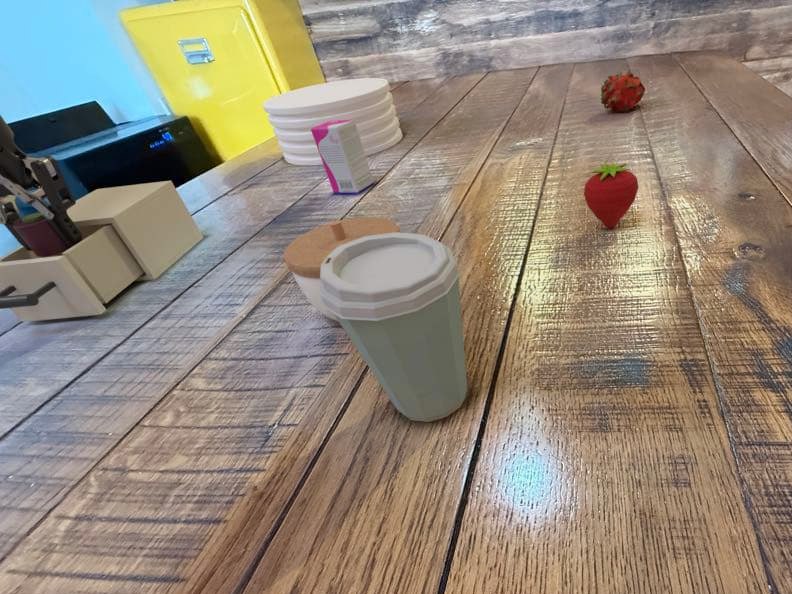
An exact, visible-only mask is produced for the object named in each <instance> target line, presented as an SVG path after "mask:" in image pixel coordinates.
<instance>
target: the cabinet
mask: <svg viewBox="0 0 792 594" xmlns="http://www.w3.org/2000/svg"><path fill="white" fill-rule="evenodd" d="M75 201H76V204H75V205H73V206H72V207H70V208H69V209H68V210H67V214H68V216H69V217H70V219H71V220H72V221H73V223H74V224H75V226H76V227H82V226H91V225H100V224H109V223H112V225H113V226H114V228H115V229H116V231H117V232H118V234H119V235H120V236H121V238H122V239H123V241H124V242H125V244H126V245H127V247H128V248H129V250H130V251H131V253H132V254H133V255H134V257H135V258H136V260H137V261H138V263H139V264H140V266H141V267H142V269H143V270H144V273H143V274H142V275H141V276H139V277H138V278H137V279H136V280H134V281H133V282H142V281H152V280H156V279H158V277H160V276H161V275H162V274H164V272H166V271H167V270H168V269H169V268H170V267H172V266H173V265H174V264H175V263H176V262H177V261H179V260H180V259H181V258H182V257H183V256H184V255H185V254H186V253H188V252H189V251H190V250H192V249H193V247H195V246H196V245H197V244H198V243H199V242H200V241H202V240H203V239H204V235H203V234H202V232H201V230H200V228H199V227H198V225H197V224H196V222H195V219H194V218H193V216H192V214H191V213H190V211H189V210H188V208H187V206H186V205H185V202H184V201H183V199H182V197H181V195H180V193H179V192H178V190H177V188H176V186H175V185H174V183H173V181H172V180H164V181H155V182H147V183H137V184H131V185H130V184H129V185H121V186H112V187H104V188H103V187H102V188H97V189H95V190H93V191H91V192H89V193H87V194H86V195H84V196H82V197H80V198H78V199H75Z"/></svg>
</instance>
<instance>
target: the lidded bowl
mask: <svg viewBox="0 0 792 594" xmlns="http://www.w3.org/2000/svg"><path fill="white" fill-rule="evenodd" d="M394 232H398V233H401V231H400V228H399V226H398V224H396V223H395V222H394V221H392V220H390V219H387V218H383V217H377V216H376V217H375V216H374V217H373V216H362V217H352V218H347V219H346V218H345V219H342V220H341V219H340V220H333V221H331V222H328V223H326V224H324V225H323V224H322V225H319V226H317V227H315V228H313V229H310V230H309V231H307V232H304V233H303V234H301V235H299V236H298V237H297V238H295V239H294V240H292V241H291V242H290V243H289V244H288V245H287V246H286V248H285V250H284V253H283V260H284V262H285V265H286V266H287V268H288V270H290V272H291V273H292V276H293V278H294V280H295V281H296V284H297V286H298V287H299V289H300V291H301V292H302V293H303V295H304V297H305V298H306V300H307V301H308V302H309V303H310V304H311V305H312V307H314V308H315V309H316V310H317V311H318V312H319V313H321V314H323V315H324V316H325V317H327V318H329V319H331V320H333V321H336V322H339V321H338V320H337V318H336V317H335V315H334V314H333V313H332V312H331V311H329V310H328V309H326V308H324V307H323V301H322V298H321V279H320V270H321V264H322V263H323V261H324V259H325V258H326V257H327V256H328V255H329V254H330V253H331V252H332V251H333V250H334V249H336V248H337V247H338V246H340V245H343V244H345V243H348V242H351V241H354V240H356V239H359V238H362V237H365V236H371V235H379V234H386V233H394Z"/></svg>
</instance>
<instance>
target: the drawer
mask: <svg viewBox="0 0 792 594" xmlns="http://www.w3.org/2000/svg"><path fill="white" fill-rule="evenodd" d="M77 228H78V229H79V231H80V232H81V234H82V239H83V240H82V241H81V242H79V243H78V244H76V245H74V246H73V247H71V248H70V249H68V250H67V251H65V252H62V253H59V254H56V255H52V256H46V257H38V256H37V255H36V254H35V253H34V252H33V251H29V250H27V249H26V248H25V247H24V246H22V245H20V246H18V247H17V248H15V249H13V250H11V251H9V252H8V253H6V254H4V255H2V256H1V257H0V310H2V309H3V310H5V309H9V310H10V311H11V312H12V314H14V315H15V316H16V318H18V319H19V320H20V321H21V323H27V322H36V321H38V322H39V321H49V320H57V319H69V318H79V317H89V316H90V317H91V316H100V315H102V314H103V313H104V312H106V311H107V308H106V307H105V306H104V305H103V304H108V303H109V302H111V300H112V299H114V298H115V297H116V296H117V295H119V294H120V293H121V292H122V291H123V290H124V289H126V288H127V287H128V286H130V285H131V284H132V283H133V282H135V281H134V280H136V279H137V278H138V277H139V276H141V275H142V274H143V273H144V270H143V269H142V267H141V266H140V264H139V263H138V261H137V260H136V258H135V257H134V255H133V254H132V253H131V251H130V250H129V248H128V247H127V245H126V244H125V242H124V241H123V239H122V238H121V236H120V235H119V234H118V232H117V231H116V229H115V228H114V226H113V225H112V223H109V224H100V225H91V226H82V227H77Z"/></svg>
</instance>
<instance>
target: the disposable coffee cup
mask: <svg viewBox="0 0 792 594" xmlns="http://www.w3.org/2000/svg"><path fill="white" fill-rule="evenodd" d="M460 276H461V271H460V268H459V265H458V263H457V260H456V258H455V257H454V254H453V251H452V249H451V248H450V247H449V246H447V245H444V243H443V242H441V241H439V240H436V239H434V238H432V237H430V236H428V235H425V234H422V233H421V234H420V233H409V232H400V233H398V232H394V233H386V234H379V235H371V236H365V237H362V238H359V239H356V240H354V241H351V242H348V243H345V244H343V245H340V246H338V247H337V248H336V249H334V250H333V251H332V252H331V253H330V254H329V255H328V256H327V257H326V258H325V259H324V261H323V263H322V264H321V270H320V279H321V298H322V301H323V307H324V308H326V309H328V310H329V311H331V312H332V313H333V314H334V315H335V317H336V318H337V320H338V321H337V322H338V323H339V324H340V325H341V327H342V329H343V331H344V333H346V335H347V336H348V338H349V340H350V341H351V342H352V344H353V345H354V347H355V349H356V350H357V351H358V353H359V355H360V356H361V358H362V359H363V361H364V362H365V364H366V365H367V367H368V368H369V370H370V371H371V373H372V374H373V376H374V377H375V378H376V380H377V382H378V383H379V385H380V387H382V390H383V391H384V392H385V394H386V395H387V397H388V398H389V400H390V401H391V403H392V404H393V406H394V407H395V409H396V410H397V411H398V412H399V413H401V414H402V415H403V416H404V417H406V418H407V419H409V420H411V421H413V422H414V421H415V422H423V423H431V422H435V421H438V420H441V419H445V418H448V417H449V416H451V415H452V414H453V413H455V412H456V411H457V410H458V409H460V408H461V406H462V405H463V402H464V401H465V399H466V396H467V392H468V391H469V387H468V377H467V364H466V355H465V342H464V329H463V318H462V305H461V294H460V282H459V277H460Z"/></svg>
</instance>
